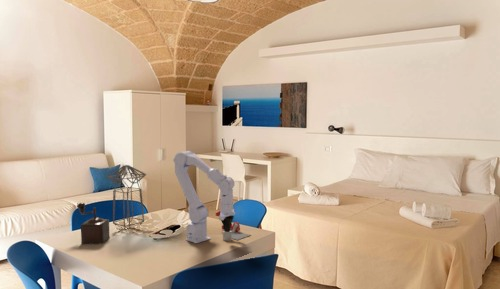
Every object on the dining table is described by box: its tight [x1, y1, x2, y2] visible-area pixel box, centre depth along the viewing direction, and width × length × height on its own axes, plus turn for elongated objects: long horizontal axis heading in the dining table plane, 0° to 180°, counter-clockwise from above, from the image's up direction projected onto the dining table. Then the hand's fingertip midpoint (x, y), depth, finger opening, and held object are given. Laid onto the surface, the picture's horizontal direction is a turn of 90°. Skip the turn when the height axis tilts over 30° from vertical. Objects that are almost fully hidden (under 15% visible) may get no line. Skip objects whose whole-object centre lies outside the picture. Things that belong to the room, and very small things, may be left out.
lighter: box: [222, 224, 237, 241], centre depth 196 cm, size 7×2×8 cm, turn 86°
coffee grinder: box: [76, 202, 111, 245], centre depth 196 cm, size 16×11×18 cm
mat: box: [232, 231, 252, 241], centre depth 202 cm, size 10×10×1 cm
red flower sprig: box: [215, 210, 241, 232], centre depth 211 cm, size 3×14×10 cm, turn 58°
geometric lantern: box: [106, 164, 147, 233], centre depth 211 cm, size 16×16×35 cm
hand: (227, 231), depth 191 cm, fingers closed
